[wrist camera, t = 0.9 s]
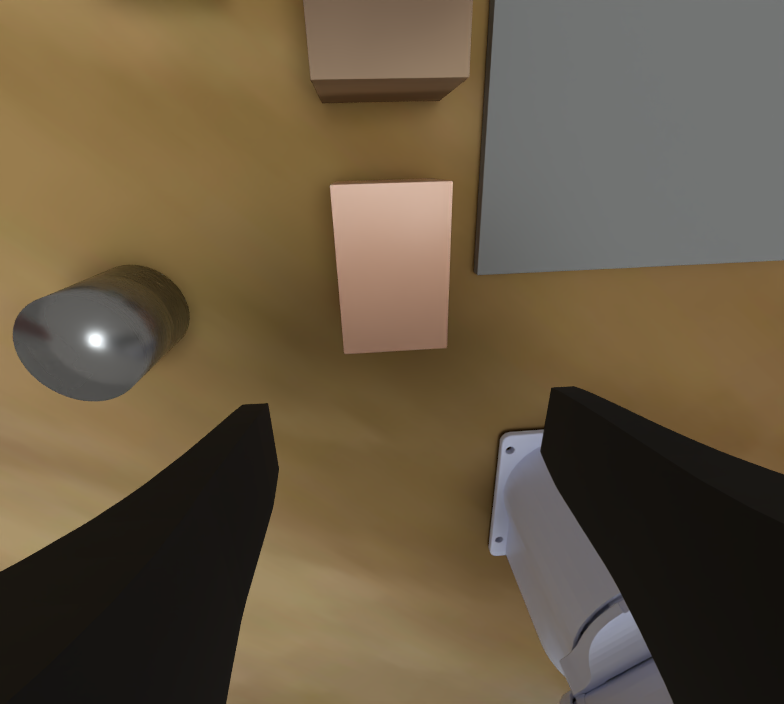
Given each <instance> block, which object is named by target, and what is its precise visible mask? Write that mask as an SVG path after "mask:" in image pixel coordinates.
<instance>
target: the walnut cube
mask: <svg viewBox="0 0 784 704" xmlns="http://www.w3.org/2000/svg"><path fill="white" fill-rule="evenodd" d="M303 3H304V14H305V24H306V35H307V45H308V56H309V66H310V77H311V81H312V83H313V85H314V87H315V89H316V91H317V93H318V95H319V97H320V99H321V101H322V103H348V102H399V101H440V100H441V99H442V98H443V97H445V96H446V95H447V94H448V93H450V92H451V91H452V90H454V89H455V88H456V87H457V86H459V85H460V84H461V83H462V82H464V81H465V80H466V79H467V78H469V71H470V49H471V26H472V4H473V0H303Z"/></svg>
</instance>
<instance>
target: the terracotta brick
mask: <svg viewBox="0 0 784 704" xmlns="http://www.w3.org/2000/svg"><path fill="white" fill-rule="evenodd" d="M452 189H453V181H448V180H440V179H432V178H431V179H399V180H366V181H335V182H334V183H332V184H331V185H330V192H331V204H332V215H333V227H334V239H335V251H336V263H337V274H338V286H339V298H340V310H341V322H342V334H343V345H344V354H354V353H371V352H388V351H405V350H421V349H438V348H447V331H448V303H449V274H450V246H451V217H452Z"/></svg>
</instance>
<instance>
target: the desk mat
mask: <svg viewBox="0 0 784 704" xmlns="http://www.w3.org/2000/svg"><path fill="white" fill-rule="evenodd" d="M777 260H784V0H490V8H489V24H488V41H487V58H486V75H485V91H484V108H483V125H482V141H481V158H480V175H479V192H478V208H477V225H476V242H475V258H474V273H476V274H477V275H488V274H509V273H529V272H550V271H571V270H591V269H612V268H632V267H653V266H674V265H694V264H715V263H735V262H756V261H777Z"/></svg>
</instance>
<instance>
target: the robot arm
mask: <svg viewBox="0 0 784 704" xmlns="http://www.w3.org/2000/svg"><path fill="white" fill-rule="evenodd" d="M508 447H511V448H510V449H509V450H506V449H507V448H508ZM278 472H279V466H278V460H277V454H276V448H275V442H274V436H273V430H272V424H271V418H270V412H269V406H268V403H265V404H246V405H242V406H240V407H239V408H238V409H236V410H235V411H234V412H233V413H232V414H230V415H229V416H228V417H227V418H226V419H225V420H223V421H222V422H221V423H220V424H219V425H218V426H217V427H215V428H214V429H213V430H212V431H211V432H210V433H208V434H207V435H206V436H205V437H204V438H202V439H201V440H200V441H199V442H198V443H197V444H195V445H194V446H193V447H192V448H191V449H189V450H188V451H187V452H186V453H185V454H183V455H182V456H181V457H179V458H178V459H177V460H176V461H174V462H173V463H172V464H170V465H169V466H168V467H166V468H165V469H164V470H163V471H161V472H160V473H159V474H157V475H156V476H155V477H153V478H152V479H151V480H150V481H148V482H147V483H146V484H144V485H143V486H141V487H140V488H139V489H137V490H136V491H134V492H133V493H131V494H130V495H129V496H127V497H126V498H124V499H123V500H121V501H120V502H118V503H117V504H115V505H114V506H112V507H111V508H109V509H107V510H106V511H104V512H103V513H101V514H100V515H98V516H97V517H95V518H94V519H92V520H90V521H89V522H87V523H86V524H84V525H82V526H81V527H79V528H77V529H75V530H74V531H72V532H70V533H68V534H67V535H65V536H63V537H61V538H60V539H58V540H56V541H55V542H53V543H51V544H49V545H48V546H46V547H44V548H42V549H41V550H39V551H37V552H36V553H34V554H32V555H30V556H29V557H27V558H25V559H23V560H22V561H20V562H18V563H16V564H14V565H12V566H10V567H8V568H7V569H5V570H3V571H1V572H0V704H226V701H227V695H228V689H229V684H230V678H231V672H232V667H233V662H234V657H235V651H236V646H237V641H238V636H239V630H240V625H241V620H242V616H243V612H244V608H245V604H246V600H247V596H248V593H249V589H250V586H251V582H252V579H253V576H254V572H255V569H256V565H257V562H258V558H259V555H260V551H261V548H262V545H263V541H264V538H265V534H266V531H267V527H268V524H269V520H270V517H271V513H272V509H273V505H274V499H275V493H276V486H277V479H278ZM489 551H490V553H491V554H492V555H494V556H500V555H506V556H507V558H508V561H509V563H510V566H511V569H512V571H513V574H514V576H515V579H516V581H517V584H518V586H519V589H520V591H521V594H522V596H523V599H524V601H525V604H526V607H527V609H528V612H529V614H530V617H531V619H532V622H533V624H534V627H535V629H536V632H537V634H538V637H539V640H540V642H541V644H542V646H543V648H544V650H545V652H546V654H547V656H548V657H549V659H550V660H551V662H552V663H553V664H554V665H555V667H556V668H557V669H558V670H559V671H560V672H561V673H562V674H563V675H564V676H565V677H566V679H567V682H568V684H569V687H570V689H571V690H570V691H569V692H567V693H565V694H564V695H563V696H562V698H561V700H560V702H559V704H784V474H781V473H778V472H775V471H772V470H769V469H767V468H764V467H761V466H758V465H756V464H753V463H750V462H747V461H745V460H742V459H739V458H736V457H734V456H731V455H729V454H726V453H724V452H721V451H718V450H716V449H714V448H711V447H709V446H706V445H704V444H702V443H699V442H697V441H695V440H692V439H690V438H688V437H685V436H683V435H681V434H678V433H676V432H674V431H672V430H670V429H667V428H665V427H663V426H661V425H659V424H656V423H654V422H652V421H650V420H648V419H646V418H644V417H642V416H639V415H637V414H635V413H633V412H631V411H629V410H627V409H625V408H623V407H621V406H618V405H616V404H614V403H612V402H610V401H608V400H606V399H604V398H601V397H599V396H597V395H595V394H593V393H590V392H588V391H585V390H583V389H580V388H577V387H574V386H572V387H554V388H551V393H550V398H549V404H548V410H547V415H546V421H545V427H544V429H543V430H530V431H517V432H508V433H505V434H503V435H502V437H501V439H500V445H499V454H498V463H497V473H496V482H495V492H494V501H493V510H492V520H491V529H490V538H489Z"/></svg>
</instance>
